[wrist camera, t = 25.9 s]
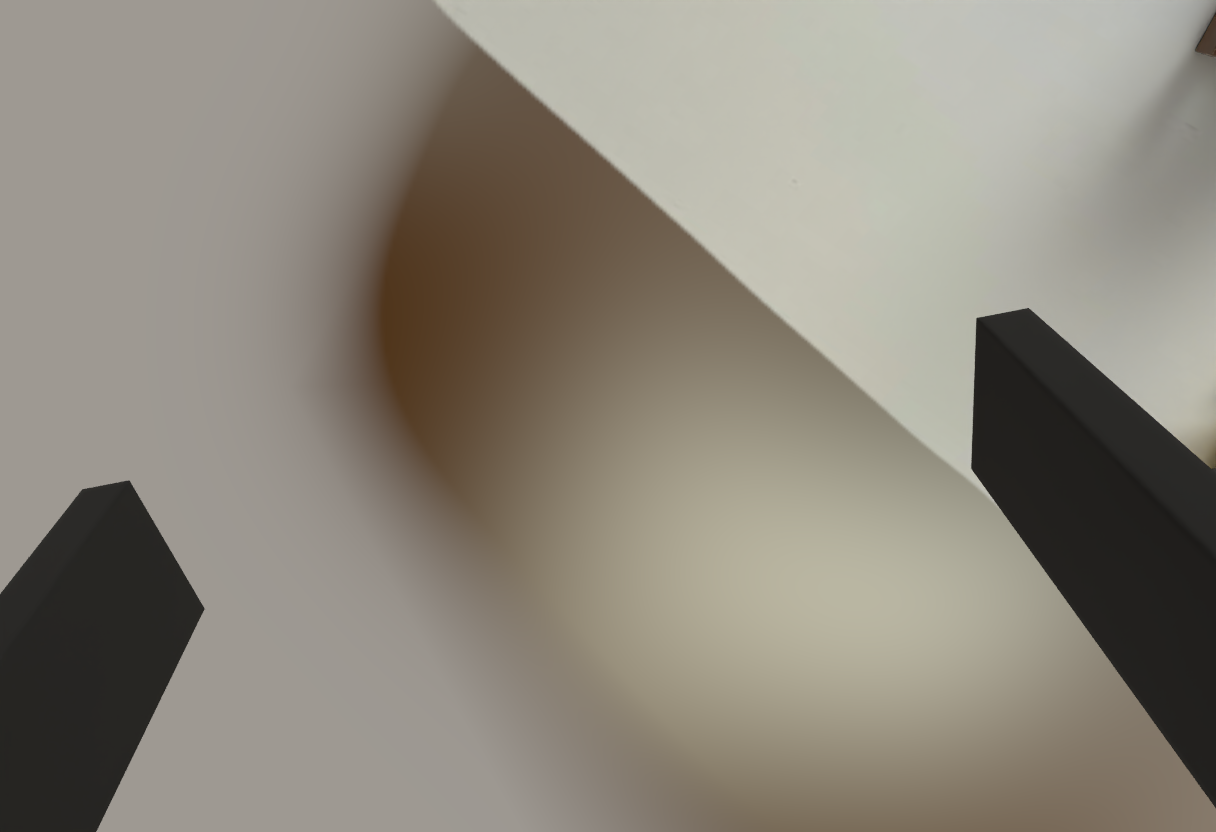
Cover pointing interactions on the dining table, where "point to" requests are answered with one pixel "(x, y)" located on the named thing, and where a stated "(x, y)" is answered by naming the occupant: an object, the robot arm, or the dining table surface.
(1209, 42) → the rail rack
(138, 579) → the robot arm
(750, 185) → the dining table surface
